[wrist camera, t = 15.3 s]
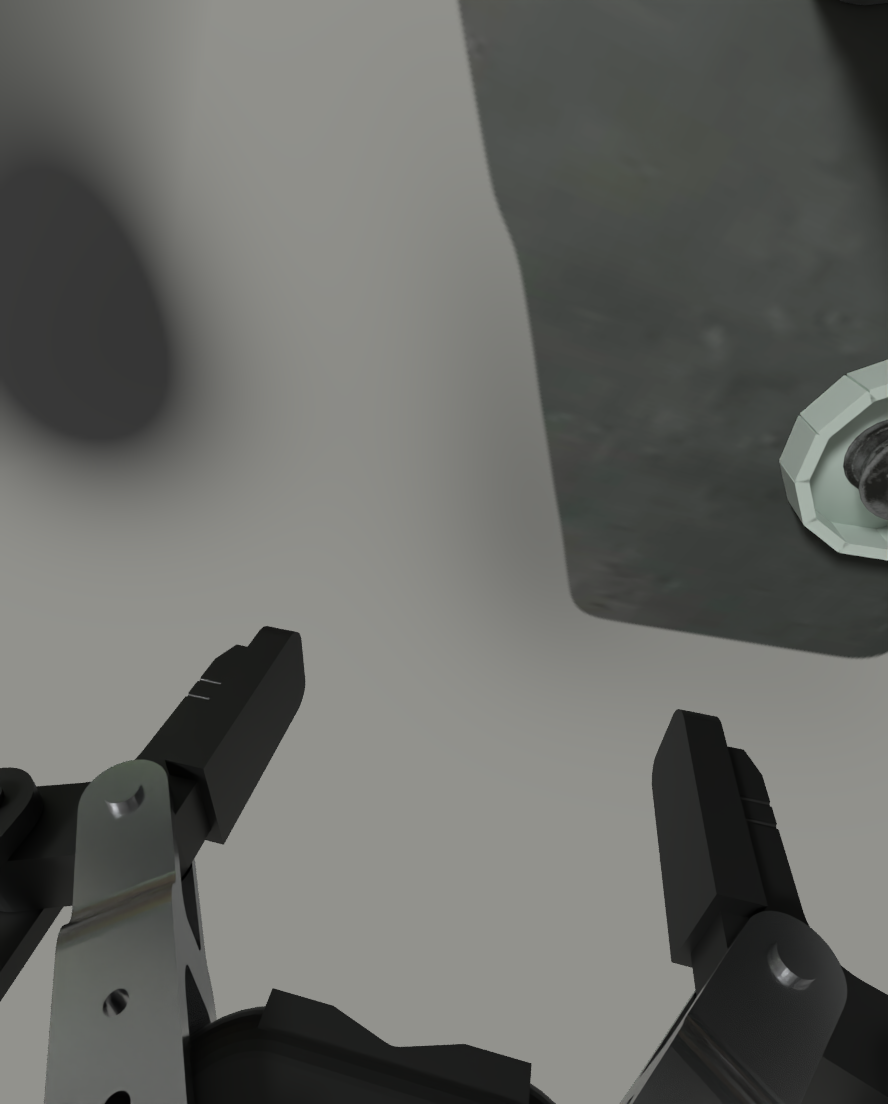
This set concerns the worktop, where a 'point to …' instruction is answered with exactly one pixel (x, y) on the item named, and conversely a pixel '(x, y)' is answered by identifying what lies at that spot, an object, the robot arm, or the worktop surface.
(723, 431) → the worktop surface
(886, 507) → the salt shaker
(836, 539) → the bowl
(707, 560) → the worktop surface
